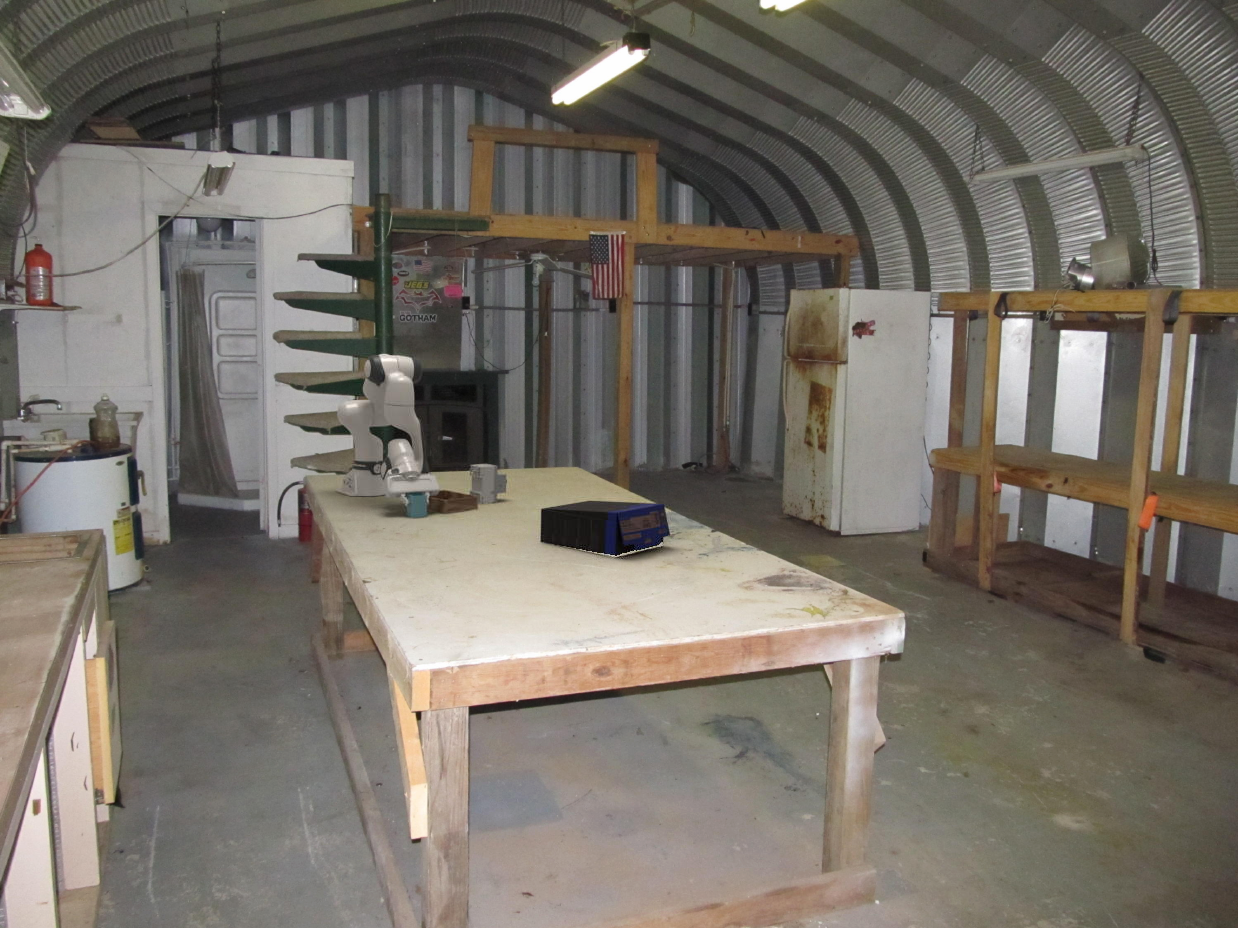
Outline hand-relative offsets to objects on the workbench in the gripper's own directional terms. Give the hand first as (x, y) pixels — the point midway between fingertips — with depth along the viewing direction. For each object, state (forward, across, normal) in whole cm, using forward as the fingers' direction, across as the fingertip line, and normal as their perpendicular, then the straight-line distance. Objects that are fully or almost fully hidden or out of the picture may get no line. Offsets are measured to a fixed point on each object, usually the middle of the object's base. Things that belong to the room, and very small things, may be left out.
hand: (417, 504), depth 342 cm
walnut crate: (-6, -16, -12) cm, 21 cm away
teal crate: (+3, 0, -4) cm, 4 cm away
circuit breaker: (-11, -38, -17) cm, 43 cm away
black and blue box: (+53, -37, +46) cm, 79 cm away
